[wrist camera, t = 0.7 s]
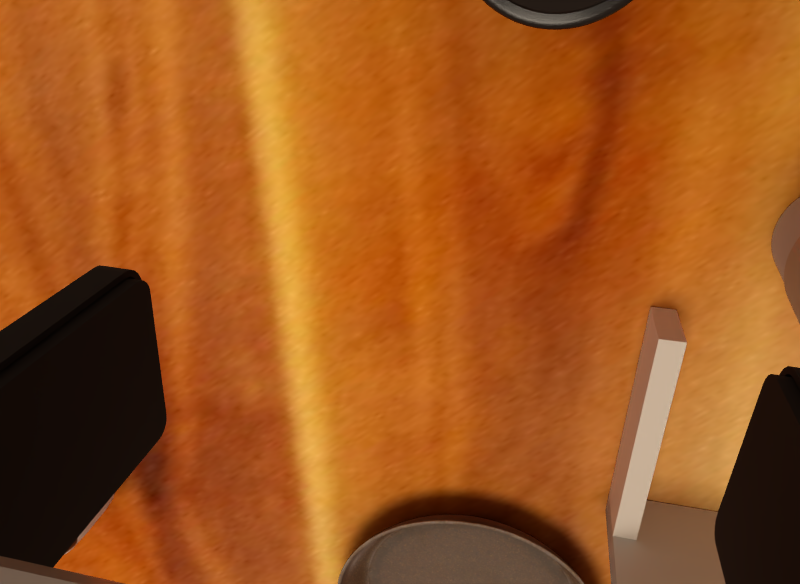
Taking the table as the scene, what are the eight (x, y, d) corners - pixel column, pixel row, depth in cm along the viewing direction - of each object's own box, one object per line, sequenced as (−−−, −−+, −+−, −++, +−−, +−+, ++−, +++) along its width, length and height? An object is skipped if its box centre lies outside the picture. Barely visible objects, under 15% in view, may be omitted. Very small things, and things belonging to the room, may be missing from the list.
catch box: (650, 306, 42) (674, 400, 33) (982, 346, 39) (1106, 461, 30) (605, 509, 49) (614, 630, 40) (880, 556, 46) (955, 698, 37)
